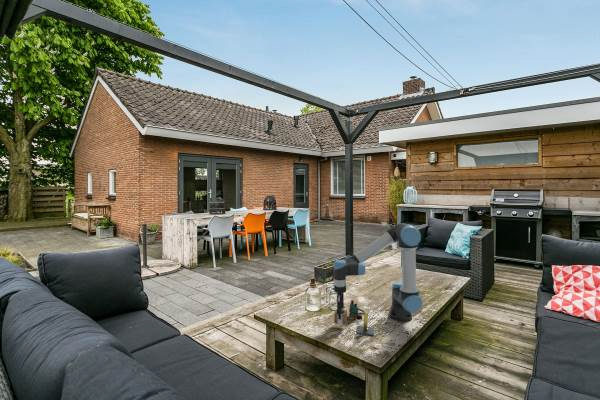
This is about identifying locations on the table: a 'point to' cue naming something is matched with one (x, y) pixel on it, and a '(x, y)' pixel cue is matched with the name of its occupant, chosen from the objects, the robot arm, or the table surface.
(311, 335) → the table surface
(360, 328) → the keeper
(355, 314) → the binoculars
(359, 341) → the table surface
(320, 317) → the table surface
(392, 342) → the table surface
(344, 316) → the link
